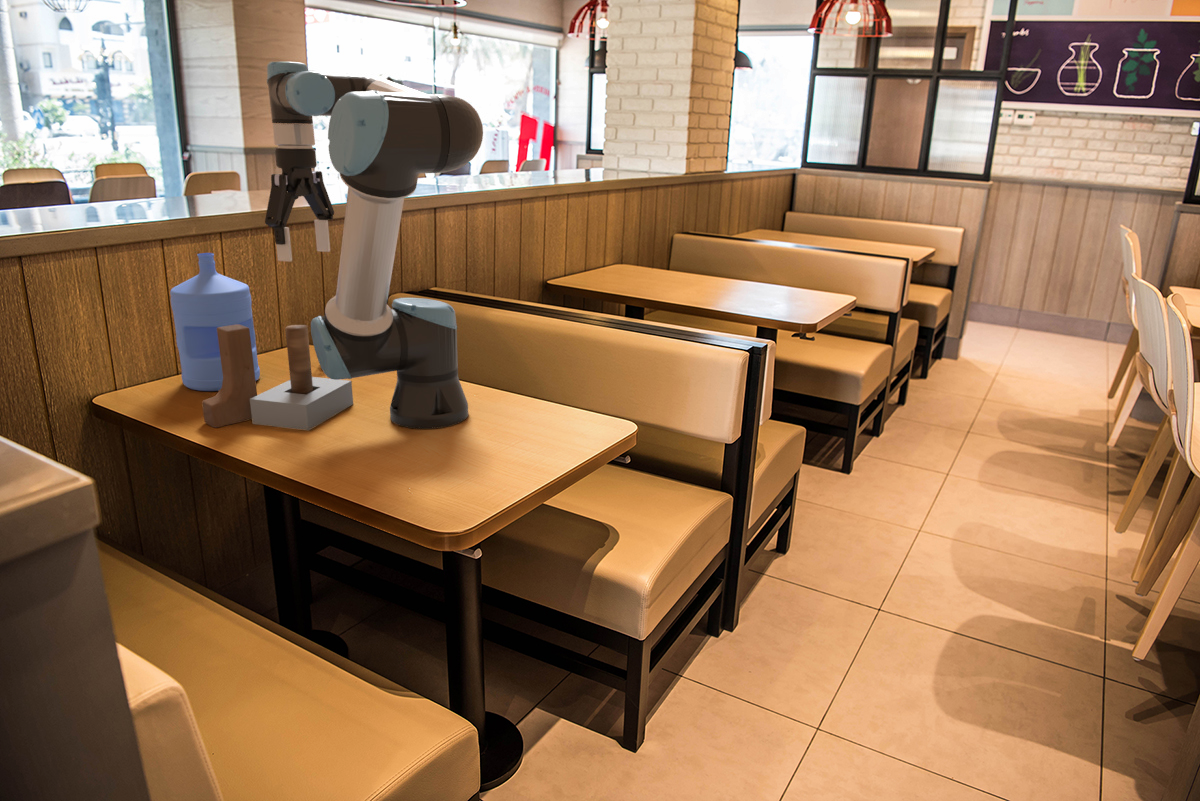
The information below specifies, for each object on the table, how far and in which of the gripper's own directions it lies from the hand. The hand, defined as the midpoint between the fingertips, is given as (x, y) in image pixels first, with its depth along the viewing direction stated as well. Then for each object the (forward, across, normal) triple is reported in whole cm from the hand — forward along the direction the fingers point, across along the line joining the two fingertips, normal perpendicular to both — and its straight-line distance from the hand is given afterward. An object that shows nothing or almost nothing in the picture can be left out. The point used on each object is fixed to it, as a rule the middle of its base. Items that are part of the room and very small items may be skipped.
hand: (305, 256), depth 168 cm
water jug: (+29, +1, -23) cm, 37 cm away
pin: (+27, +14, +6) cm, 31 cm away
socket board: (+29, +14, +6) cm, 32 cm away
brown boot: (+29, +22, -5) cm, 36 cm away
